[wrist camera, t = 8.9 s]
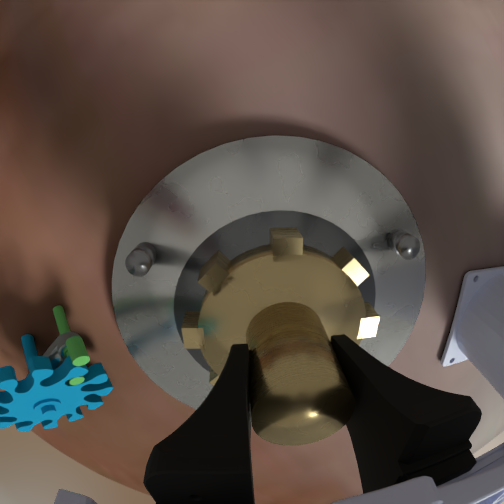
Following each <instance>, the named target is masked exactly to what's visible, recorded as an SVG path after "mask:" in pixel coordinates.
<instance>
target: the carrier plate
mask: <svg viewBox="0 0 504 504" xmlns="http://www.w3.org/2000/svg"><path fill="white" fill-rule="evenodd" d="M290 227H296V228H297V229H298V231H299V232H300V234H301V235H302V237H303V245H307V246H310V247H314V248H316V249H318V250H321V251H323V252H325V253H326V254H328V255H329V256H331V257H332V256H333V255H334V254H336V253H337V252H338V251H339V250H340V249H341V248H342V247H343V246H344V248H345V249H346V250H347V251H348V252H349V253H350V254H351V255H352V256H353V257H354V258H355V259H356V260H357V262H358V263H359V264H360V265H361V266H362V267H363V268H364V269H365V271H366V272H367V273H368V274H369V276H368V277H367V278H366V279H364V280H363V281H362V282H361V283H360V284H359V285H358V286H357V287H358V289H359V290H360V292H361V294H362V297H363V300H364V302H369V303H370V304H371V306H372V307H373V308H374V310H375V311H376V312H377V314H378V315H379V322H378V327H377V331H376V335H375V337H368V338H362V339H361V342H360V344H359V346H360V347H361V348H363V349H364V350H365V351H367V352H368V353H369V354H371V355H372V356H373V357H375V358H376V359H377V360H379V361H380V362H382V363H383V364H385V365H386V366H389V365H390V363H391V362H392V361H393V360H394V359H395V357H396V356H397V355H398V353H399V352H400V350H401V349H402V347H403V346H404V344H405V343H406V341H407V339H408V337H409V335H410V333H411V332H412V330H413V327H414V325H415V322H416V320H417V317H418V315H419V311H420V308H421V304H422V300H423V296H424V288H425V281H426V261H425V254H424V247H423V242H422V238H421V235H420V231H419V228H418V225H417V223H416V221H415V218H414V216H413V214H412V212H411V210H410V208H409V206H408V205H407V203H406V202H405V200H404V199H403V197H402V196H401V194H400V193H399V191H398V190H397V189H396V188H395V187H394V186H393V185H392V183H391V182H390V181H389V180H388V179H387V178H386V177H385V176H384V175H383V174H382V173H380V172H379V171H378V170H377V169H375V168H374V167H373V166H372V165H370V164H369V163H368V162H366V161H365V160H363V159H361V158H360V157H358V156H356V155H354V154H352V153H351V152H349V151H347V150H345V149H342V148H339V147H337V146H334V145H331V144H329V143H326V142H322V141H318V140H313V139H308V138H304V137H295V136H277V135H273V136H262V137H252V138H246V139H242V140H238V141H233V142H229V143H226V144H222V145H220V146H217V147H215V148H212V149H210V150H208V151H205V152H203V153H200V154H198V155H197V156H195V157H193V158H191V159H190V160H188V161H186V162H185V163H183V164H181V165H180V166H178V167H177V168H175V169H174V170H173V171H172V172H171V173H169V174H168V175H167V176H166V177H164V178H163V179H162V180H161V181H160V182H158V183H157V184H156V186H155V187H154V188H153V189H152V190H151V191H150V192H149V193H148V194H147V195H146V197H145V198H144V199H143V200H142V201H141V203H140V204H139V206H138V207H137V209H136V210H135V212H134V213H133V215H132V216H131V218H130V220H129V221H128V223H127V226H126V228H125V230H124V232H123V234H122V237H121V239H120V241H119V245H118V249H117V252H116V256H115V259H114V266H113V274H112V301H113V307H114V312H115V317H116V321H117V324H118V327H119V330H120V333H121V336H122V338H123V340H124V342H125V344H126V346H127V348H128V350H129V352H130V353H131V355H132V356H133V358H134V359H135V361H136V362H137V364H138V365H139V366H140V368H141V369H142V370H143V371H144V372H145V373H146V374H147V375H148V377H149V378H150V379H151V380H152V381H153V382H155V383H156V384H157V385H158V386H159V387H160V388H162V389H163V390H164V391H165V392H167V393H168V394H170V395H171V396H173V397H174V398H176V399H177V400H179V401H180V402H182V403H184V404H186V405H188V406H190V407H192V408H194V409H198V407H199V406H200V405H201V404H202V402H203V401H204V400H205V398H206V397H207V396H208V394H209V393H210V391H211V390H212V388H213V386H214V385H212V384H210V383H209V378H210V366H209V364H208V363H207V361H206V360H205V358H204V356H203V354H202V352H201V349H185V347H184V341H183V335H182V324H183V320H184V316H185V312H186V311H200V309H201V303H202V300H203V296H204V293H205V291H206V289H205V288H204V287H203V286H201V285H200V284H199V283H198V277H199V273H200V269H201V267H202V266H203V265H204V264H205V263H206V262H207V261H208V260H209V259H210V258H211V257H212V256H213V255H214V254H215V253H216V252H217V251H218V250H219V251H220V252H221V253H222V254H223V255H225V256H226V257H227V258H228V259H229V260H232V259H233V258H235V257H236V256H238V255H240V254H242V253H244V252H246V251H248V250H250V249H253V248H256V247H259V246H263V245H267V244H269V228H290Z"/></svg>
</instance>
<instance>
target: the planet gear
mask: <svg viewBox="0 0 504 504" xmlns="http://www.w3.org/2000/svg"><path fill="white" fill-rule="evenodd" d="M368 276H369V274H368V273H367V272H366V271H365V269H364V268H363V267H362V266H361V265H360V264H359V263H358V262H357V260H356V259H355V258H354V257H353V256H352V255H351V254H350V253H349V252H348V251H347V250H346V249H345V248H344V246H343V247H342V248H341V249H340V250H339V251H338V252H337V253H336V254H334V255H333V256H332V257H331V256H329V255H328V254H326V253H325V252H323V251H321V250H318V249H316V248H314V247H310V246H307V245H303V237H302V235H301V234H300V232H299V231H298V229H297V228H296V227H290V228H269V244H267V245H263V246H259V247H256V248H253V249H250V250H248V251H246V252H244V253H242V254H240V255H238V256H236V257H235V258H233V259H232V260H229V259H228V258H227V257H226V256H225V255H223V254H222V253H221V252H220V251H219V250H218V251H217V252H216V253H215V254H214V255H213V256H212V257H211V258H210V259H209V260H208V261H207V262H206V263H205V264H204V265H203V266H202V267H201V269H200V273H199V277H198V283H199V284H200V285H201V286H203V287H204V288H205V289H206V291H205V293H204V296H203V300H202V303H201V309H200V311H186V312H185V316H184V320H183V324H182V335H183V341H184V347H185V349H201V352H202V354H203V356H204V358H205V360H206V361H207V363H208V364H209V366H210V378H209V383H210V384H212V385H215V383H216V381H217V380H218V378H219V376H220V374H221V372H222V370H223V368H224V366H225V363H226V361H227V358H228V356H229V352H230V348H231V346H232V345H233V344H246V343H248V349H249V363H250V374H249V393H250V408H251V422H252V427H253V429H254V431H255V432H256V434H257V435H258V436H260V437H261V438H262V439H264V440H266V441H268V442H271V443H274V444H279V445H303V444H309V443H313V442H316V441H319V440H322V439H324V438H326V437H328V436H330V435H332V434H334V433H335V432H337V431H338V430H339V429H341V428H342V427H343V426H344V425H345V424H346V423H347V422H348V421H349V419H350V418H351V416H352V415H353V412H354V409H355V399H354V396H353V394H352V391H351V389H350V387H349V384H348V382H347V379H346V377H345V375H344V372H343V370H342V368H341V365H340V363H339V361H338V358H337V356H336V354H335V351H334V349H333V347H332V345H331V342H330V341H331V336H334V335H342V334H345V335H346V336H348V337H349V338H350V339H351V340H353V341H354V342H355V343H356V344H358V345H359V344H360V342H361V339H362V338H368V337H375V335H376V331H377V327H378V322H379V315H378V314H377V312H376V311H375V310H374V308H373V307H372V306H371V304H370V303H369V302H364V300H363V297H362V294H361V292H360V290H359V289H358V287H357V286H358V285H359V284H360V283H361V282H362V281H363V280H364V279H366V278H367V277H368Z"/></svg>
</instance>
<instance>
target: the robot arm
mask: <svg viewBox="0 0 504 504" xmlns="http://www.w3.org/2000/svg"><path fill="white" fill-rule="evenodd" d="M474 277H475V278H474ZM330 342H331V345H332V347H333V349H334V351H335V354H336V356H337V358H338V361H339V363H340V365H341V368H342V370H343V372H344V375H345V377H346V379H347V382H348V384H349V387H350V389H351V391H352V394H353V396H354V399H355V409H354V412H353V415H352V416H351V418H350V419H349V421H348V422H347V423H346V426H347V428H348V431H349V434H350V437H351V440H352V444H353V448H354V451H355V455H356V460H357V464H358V468H359V473H360V478H361V483H362V488H363V494H361V495H357V496H353V497H349V498H345V499H342V500H339V501H336V502H333V503H331V504H500V503H502V502H503V501H504V443H502V444H501V445H499V446H497V447H496V448H494V449H492V450H490V451H489V452H487V453H485V454H483V455H482V456H479V457H478V458H474V457H473V455H472V453H471V451H470V450H469V449H471V447H472V444H471V443H470V441H469V438H470V437H471V435H472V434H473V432H474V430H475V429H476V427H477V426H478V424H479V422H480V419H481V415H482V413H481V410H480V408H479V407H478V406H477V405H476V403H475V402H474V401H473V399H472V398H471V397H470V396H464V395H459V394H453V393H449V392H445V391H441V390H438V389H435V388H432V387H429V386H426V385H424V384H421V383H419V382H416V381H414V380H412V379H409V378H408V377H406V376H404V375H402V374H400V373H398V372H396V371H394V370H393V369H391V368H390V367H388V366H386V365H385V364H383V363H382V362H380V361H379V360H377V359H376V358H375V357H373V356H372V355H371V354H369V353H368V352H367V351H365V350H364V349H363V348H361V347H360V346H359V345H358V344H356V343H355V342H354V341H353V340H351V339H350V338H349V337H348V336H346V335H345V334H342V335H334V336H331V341H330ZM468 359H469V360H470V361H471V362H472V363H473V365H474V366H475V367H476V368H477V369H478V370H479V371H480V372H481V373H482V375H483V376H484V377H485V378H486V379H487V380H488V381H489V382H490V384H491V385H492V386H493V387H494V388H495V389H496V391H497V392H498V393H499V394H500V395H501V396H502V398H503V399H504V266H502V267H495V268H488V269H481V270H474V271H469V272H467V273H466V274H465V276H464V279H463V283H462V288H461V292H460V296H459V301H458V305H457V309H456V312H455V316H454V320H453V323H452V327H451V330H450V334H449V337H448V340H447V343H446V347H445V350H444V353H443V356H442V359H441V362H440V363H441V365H442V366H444V367H445V366H449V365H452V364H455V363H459V362H462V361H465V360H468ZM249 374H250V363H249V349H248V343H246V344H233V345H232V346H231V348H230V352H229V356H228V358H227V361H226V363H225V366H224V368H223V370H222V372H221V374H220V376H219V378H218V380H217V381H216V383H215V385H214V386H213V388H212V390H211V391H210V393H209V394H208V396H207V397H206V398H205V400H204V401H203V402H202V404H201V405H200V406H199V407H198V409H197V410H196V411H195V412H194V413H193V414H192V415H191V416H190V417H189V418H188V420H186V421H185V422H184V423H183V424H182V425H181V426H180V427H179V428H178V429H177V430H175V431H174V432H173V433H172V434H171V435H169V436H168V437H166V438H165V439H164V440H162V441H161V442H159V443H158V444H157V445H155V446H154V448H153V450H152V452H151V454H150V457H149V460H148V462H147V465H146V470H145V476H144V485H145V487H146V489H147V490H148V492H149V493H150V495H151V496H152V497H153V499H154V500H155V502H156V504H255V500H254V488H253V476H252V463H251V450H250V435H251V408H250V393H249ZM54 504H97V503H96V502H95V501H94V500H93V499H91V498H89V497H87V496H84V495H81V494H77V493H74V492H70V491H66V490H63V489H59V491H58V493H57V496H56V499H55V502H54Z"/></svg>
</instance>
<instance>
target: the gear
mask: <svg viewBox="0 0 504 504" xmlns="http://www.w3.org/2000/svg"><path fill="white" fill-rule="evenodd" d="M53 313H54V316H55V320H56V323H57V327H58V330H59V333H60V335H59V336H58V337H57V338H56V339H55V341H54V342H53V343H52V344H51V346H50V347H49V348H48V349H47V351H46V352H45V353H44V354H43V356H38V353H37V350H36V346H35V342H34V338H33V336H32V335H30V334H26V335H23V336H22V337H21V341H22V346H23V350H24V354H25V358H26V362H27V366H28V369H29V374H28V375H27V377H26V378H25V379H24V380H21V381H17V378H16V375H15V371H14V368H13V367H12V366H5V367H1V368H0V389H3V390H5V391H3V392H0V428H7V427H9V426H10V425H13V424H15V425H16V428H17V430H19V431H26V432H27V431H30V430H31V429H32V428H33V426H35V425H36V424H38V423H40V422H41V423H42V425H43V428H44V429H49V428H56V427H57V426H58V423H57V420H58V419H59V418H60V417H61V416H63V415H65V414H66V415H67V418H68V420H69V421H75V420H78V419H80V418H83V414H82V412H81V410H80V407H79V406H80V405H85V404H86V405H87V407H88V409H90V410H92V409H95V408H97V407H99V406H101V405H102V404H103V401H102V399H101V397H100V396H105V395H108V394H109V393H110V392H111V390H112V389H113V386H112V384H111V382H110V380H109V378H108V377H107V374H106V372H105V370H104V368H103V365H102V364H101V363H96V364H93V365H91V366H90V367H88V368H87V366H86V364H87V363H88V362H89V361H90V358H89V355H88V353H87V350H86V348H85V345H84V342H83V340H82V338H81V337H80V336H79V335H78V334H77V333H75V332H71V331H70V328H69V325H68V322H67V319H66V316H65V313H64V309H63V307H62V306H59V305H58V306H55V307H54V308H53Z"/></svg>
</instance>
